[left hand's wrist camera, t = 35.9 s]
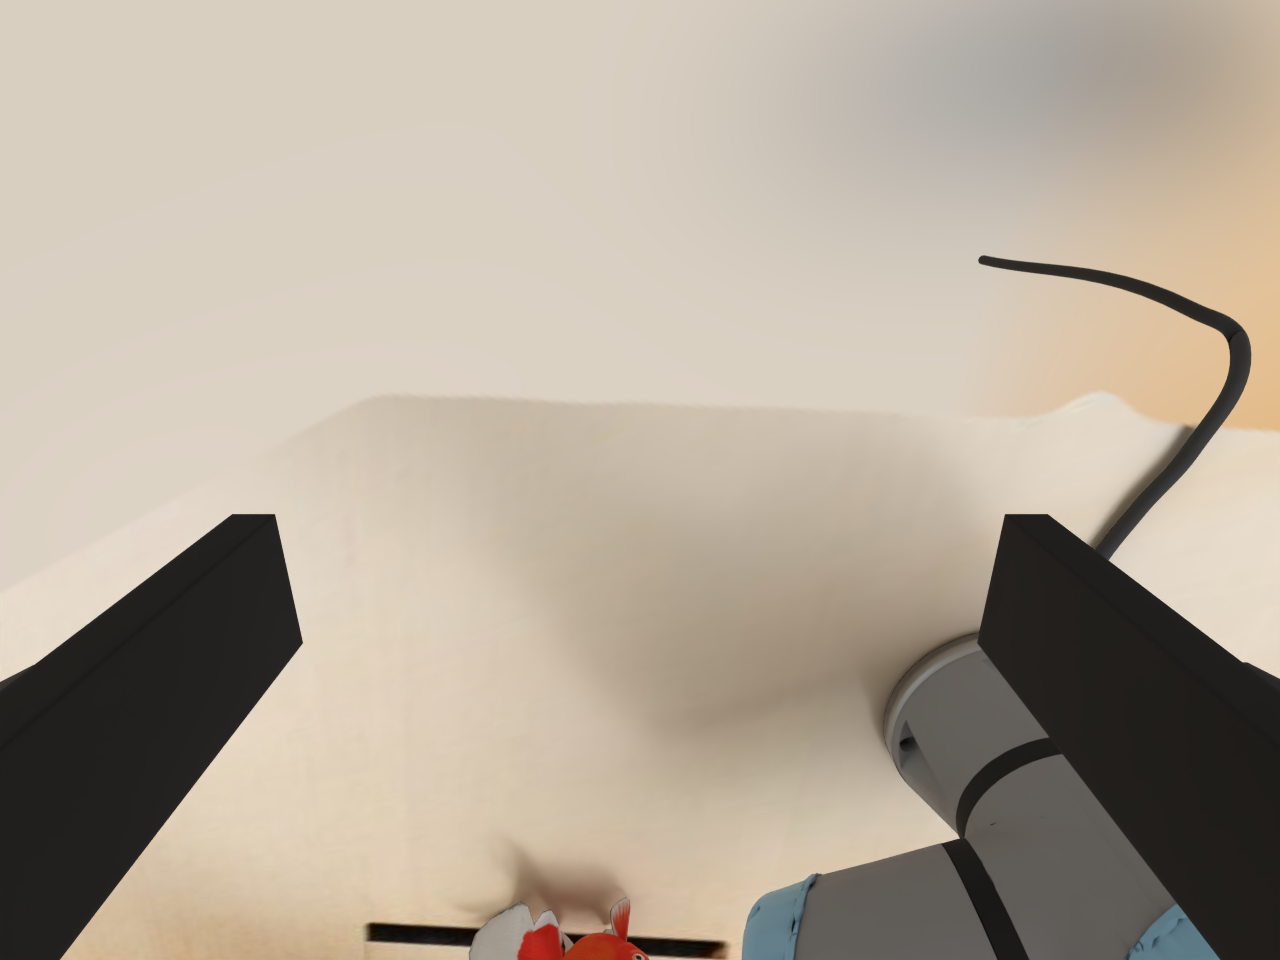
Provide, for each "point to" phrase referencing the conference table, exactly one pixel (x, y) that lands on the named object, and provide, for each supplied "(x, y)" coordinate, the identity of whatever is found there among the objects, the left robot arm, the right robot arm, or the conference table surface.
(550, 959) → the fish
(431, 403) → the conference table surface
